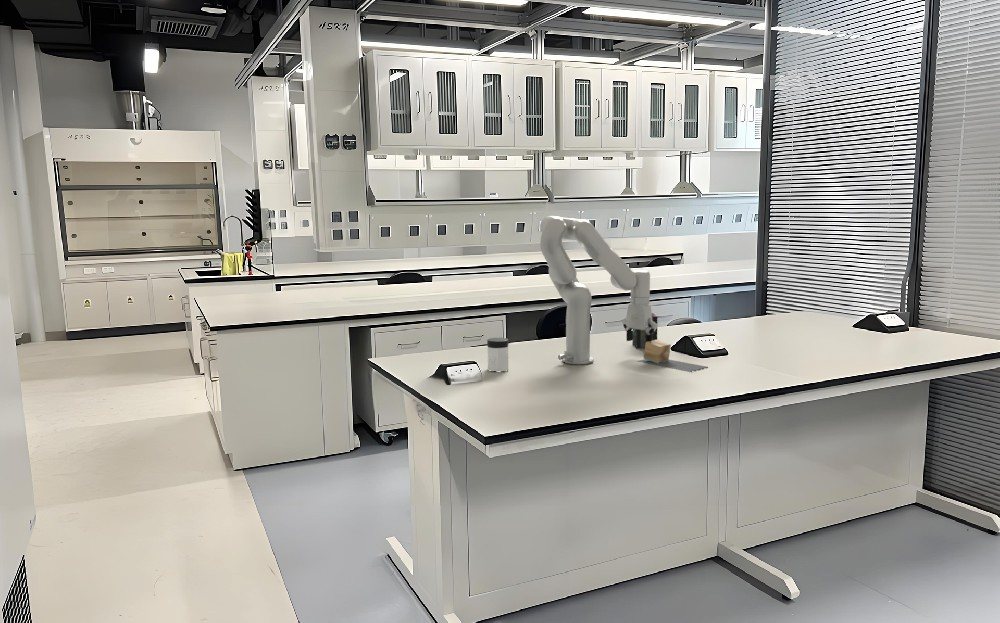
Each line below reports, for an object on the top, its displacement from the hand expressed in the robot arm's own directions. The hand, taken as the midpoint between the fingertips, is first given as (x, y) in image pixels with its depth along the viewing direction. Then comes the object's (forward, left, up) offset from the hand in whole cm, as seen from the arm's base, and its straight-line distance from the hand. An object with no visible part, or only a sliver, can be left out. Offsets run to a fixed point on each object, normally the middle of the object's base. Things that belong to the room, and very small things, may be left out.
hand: (638, 342), depth 285 cm
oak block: (0, -9, -6) cm, 10 cm away
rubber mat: (0, -16, -7) cm, 17 cm away
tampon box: (+21, +13, -7) cm, 26 cm away
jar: (-55, +24, -7) cm, 60 cm away
